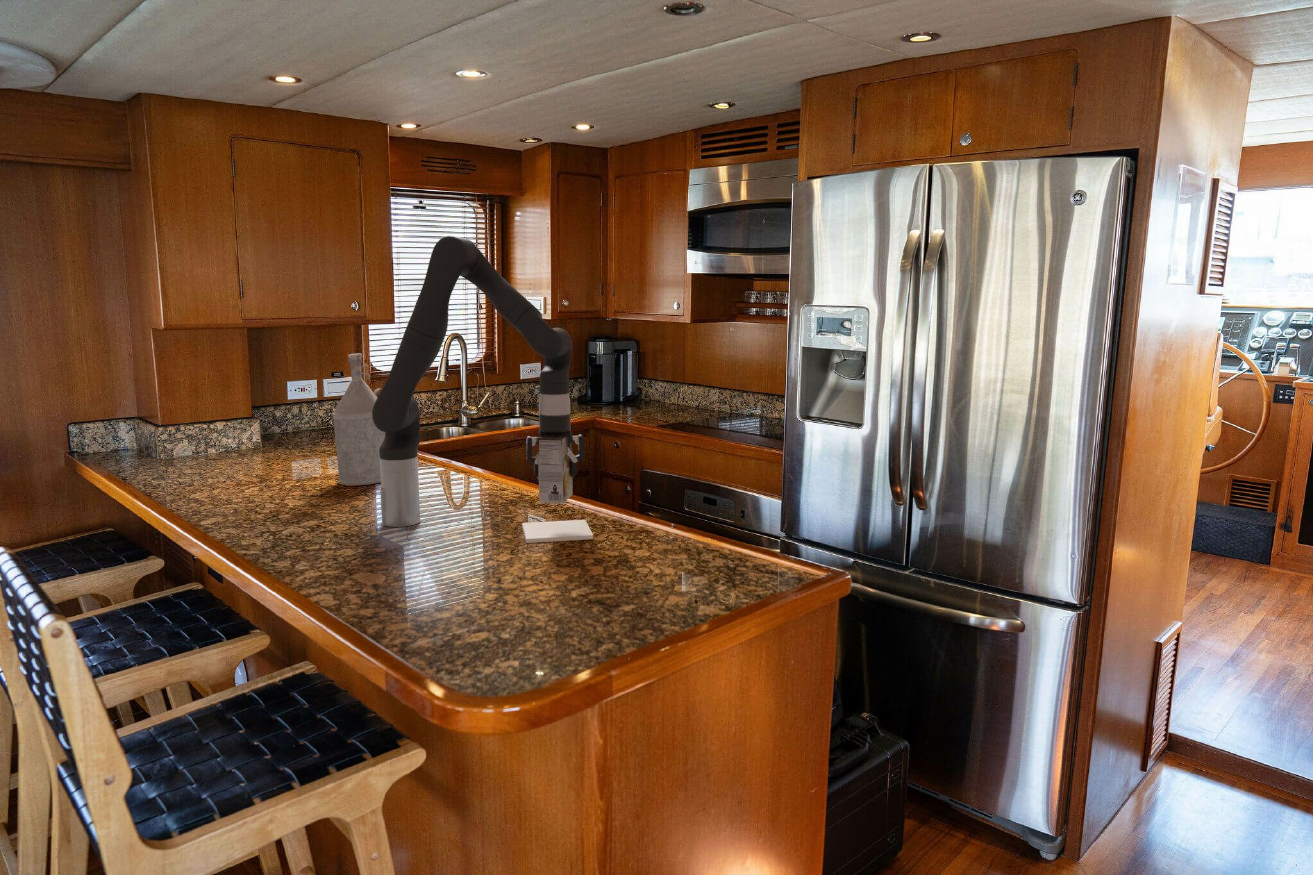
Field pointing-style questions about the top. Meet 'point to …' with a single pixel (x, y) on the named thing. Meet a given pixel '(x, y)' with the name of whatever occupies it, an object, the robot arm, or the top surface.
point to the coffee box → (554, 469)
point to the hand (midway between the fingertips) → (555, 477)
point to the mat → (556, 531)
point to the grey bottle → (357, 431)
